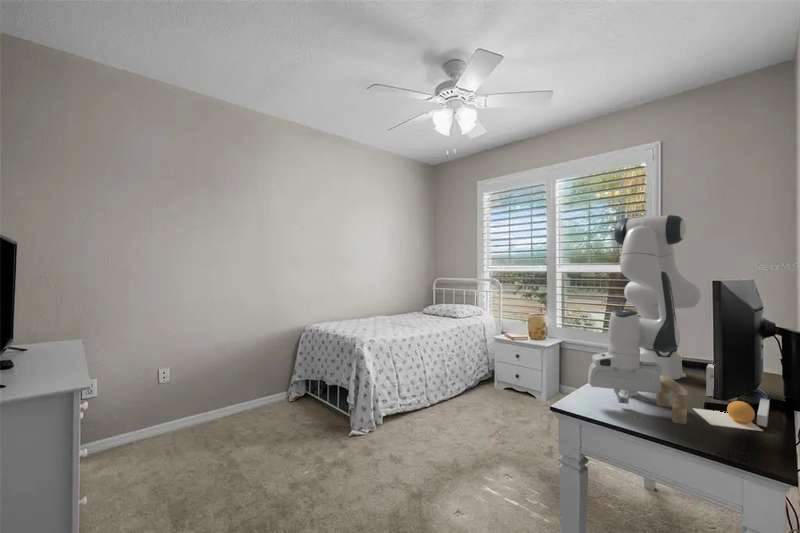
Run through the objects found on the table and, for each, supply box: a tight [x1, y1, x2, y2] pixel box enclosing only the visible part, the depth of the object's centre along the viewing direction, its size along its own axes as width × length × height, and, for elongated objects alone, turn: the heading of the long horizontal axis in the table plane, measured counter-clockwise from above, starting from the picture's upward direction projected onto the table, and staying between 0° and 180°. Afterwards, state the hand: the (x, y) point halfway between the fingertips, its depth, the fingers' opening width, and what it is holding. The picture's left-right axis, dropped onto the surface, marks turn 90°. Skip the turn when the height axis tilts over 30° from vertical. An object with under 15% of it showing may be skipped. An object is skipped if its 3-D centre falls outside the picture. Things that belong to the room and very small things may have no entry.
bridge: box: [655, 375, 688, 425], centre depth 114 cm, size 3×15×10 cm, turn 162°
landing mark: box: [692, 407, 764, 432], centre depth 110 cm, size 12×12×1 cm
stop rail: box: [756, 397, 770, 428], centre depth 112 cm, size 18×2×3 cm, turn 133°
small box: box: [705, 363, 715, 397], centre depth 127 cm, size 8×6×10 cm
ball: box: [726, 400, 756, 423], centre depth 108 cm, size 6×6×6 cm
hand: (622, 402), depth 118 cm, fingers closed
